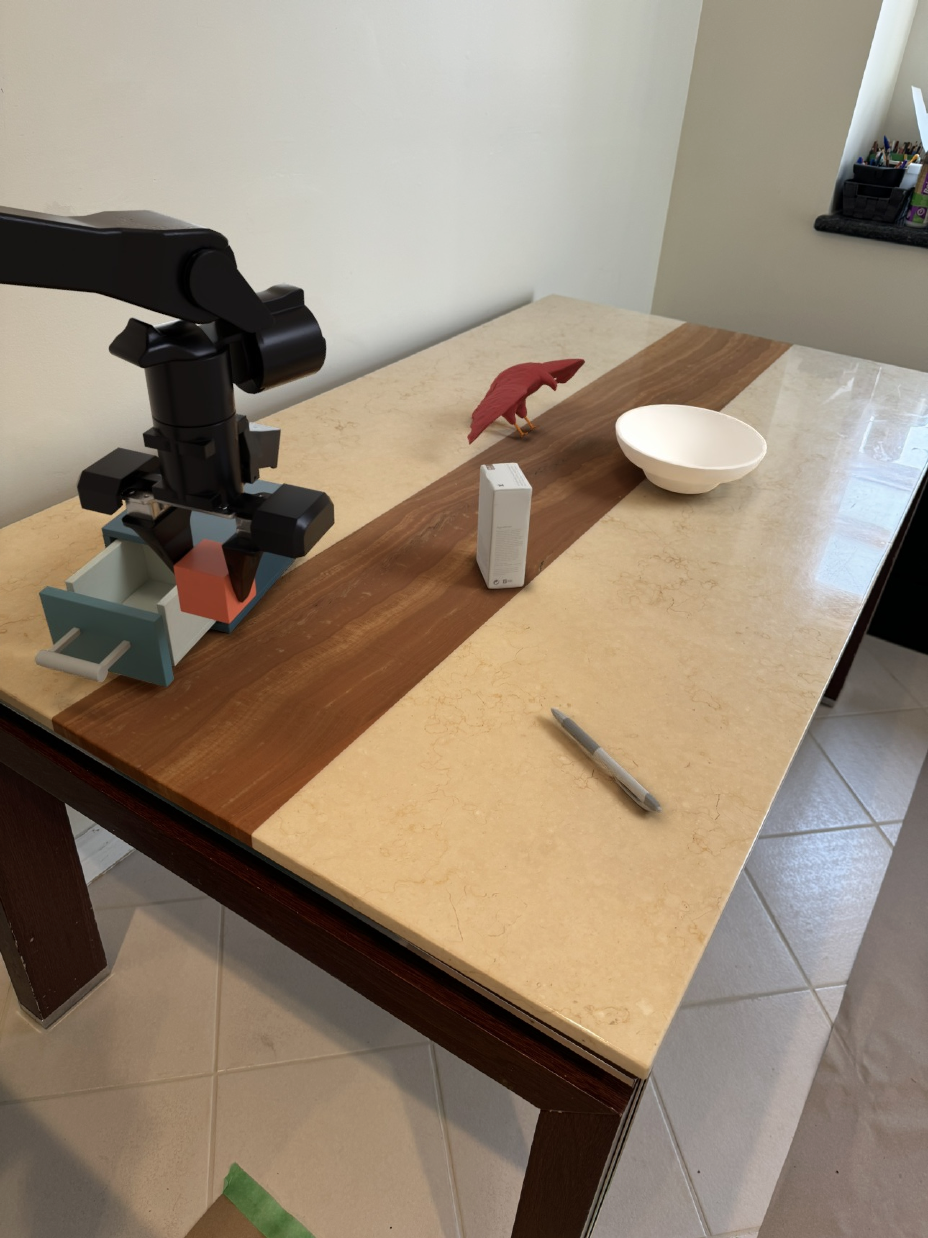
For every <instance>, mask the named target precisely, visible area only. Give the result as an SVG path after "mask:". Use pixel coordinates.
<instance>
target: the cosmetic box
mask: <svg viewBox="0 0 928 1238" xmlns="http://www.w3.org/2000/svg"><path fill="white" fill-rule="evenodd" d="M532 494H533V487H532V485H531V484H530V482H529V480H528V479H527V478H526V476H525V474H524V472H523V471H522V469H521V467H520V465H519V464H518V462H501V463H490V464H481V465H480V469H479V487H478V513H477V514H478V515H477V537H476V563H477V565H478V567H479V570H480V572H481V574H482V577H483V579H484V582H485V585H486V586H487V588H488V589H494V590H495V589H497V590H498V589H512V588H520V587H521V588H522V587H523V586H524V584H525V575H526V565H527V564H526V562H527V551H528V541H529V529H530V520H531V519H530V517H531V506H532Z"/></svg>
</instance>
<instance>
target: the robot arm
mask: <svg viewBox="0 0 928 1238" xmlns="http://www.w3.org/2000/svg"><path fill="white" fill-rule="evenodd" d="M0 285H6V286H7V285H8V286H15V287H16V286H19V287H27V288H29V287H30V288H37V289H47V290H60V291H67V292H68V291H69V292H77V293H78V292H79V293H91V294H97V295H101V296H104V297H107V298H110V299H114V300H117V301H120V302H123V303H127V304H129V305H131V306H132V305H133V306H136V307H139V308H142V309H145V310H147V311H150V312H154V313H156V314H161V315H162V316H167V317H171V318H174V319H175V320H171V321H167V322H163V323H158V324H154V325H153V324H152V323H149V322H146V321H143V320H141V319H139V318H136V317H134V316H133V317H129V319H128V320H127V323H126V326H125V327H124V329H123V330H122V331H120V333H119V334H117V335H116V336H115V337H114V339H113V340H112V341H111V342H110V344H109V345H108V353H109V354H111V355H112V356H114V357H116V358H119V359H121V360H123V361H125V362H127V363H129V364H132V365H134V366H136V367H138V368H141V369H143V370H144V376H145V383H146V389H147V396H148V401H149V408H150V415H151V420H152V425H153V426H152V427H150V428H148V429H147V430H146V431H144V432H143V433H142V439H143V445H144V447H145V448H148V449H152V450H156V451H157V455H156V454H153V453H152V454H151V453H147V452H142V451H138V450H133V449H129V448H124V447H121V446H120V447H119V446H118V447H117V448H115V449H114V450H112V451H110V452H109V453H107V454H106V455H104V456H103V457H101V458H99V459H98V460H97V461H95V462H94V463H92V464H91V465H89V466H87V467H86V468H84V469H83V470H82V471H81V472H80V473H79V475H78V478H77V480H76V484H75V485H76V490H77V495H78V499H79V504H80V507H81V509H83V510H86V511H91V512H95V513H99V514H103V515H108V516H113V515H114V514H116V512H118V511H119V510H120V509H121V508H123V506H124V504H125V509H126V510H127V514H126V515H125V516H123V517H122V519H121V520H122V524H123V525H124V526H125V527H128V528H131V529H132V530H133V531H134V532H135V533H136V534H137V535H138V536H139V537H140V538H141V539H142V540H143V541H144V542H145V543H146V544H147V545H148V546H149V547H150V548H151V549H152V550H153V551H154V552H155V553H156V554H157V555H158V556H159V557H160V559H161V560H162V561H163V562H164V563H165V564H166V566H167V567H168V568H169V569H170V570H171V571H172V573H173V574H174V575H175V573H174V565H175V564H176V563H177V562H178V561H179V560H181V559H182V558H183V557H184V556H185V555H186V554H187V553H188V552H189V551H191V550H192V549H193V548H194V545H193V538H192V532H191V525H190V517H191V513H192V511H196V512H200V513H205V514H209V515H213V516H218V517H222V518H226V519H234V518H235V520H236V526H237V527H236V532H235V533H234V534H233V535H232V536H231V537H230V538H229V539H228V540H226V541H225V542H224V543H223V544H222V550H223V554H224V558H225V562H226V565H227V569H228V573H229V576H230V580H231V584H232V588H233V591H234V593H235V595H236V597H237V600H238V602H242V603H243V602H244V601H245V600H246V599H247V598H248V596H249V594H250V591H251V588H252V585H253V581H254V578H255V575H256V572H257V569H258V566H259V563H260V560H261V557H262V554H263V553H264V552H268V553H272V554H276V555H280V556H285V557H289V558H293V559H295V558H296V559H301V558H304V557H306V556H307V554H309V552H311V550H312V549H313V548H314V547H315V546H316V545H317V543H319V541H320V540H321V539H322V538H323V537H324V536H325V535H326V534H327V533H328V532H329V531H330V529H331V528H332V527H333V526H334V525H335V505H334V504H335V503H334V502H333V500H332V498H331V497H330V496H329V494H328V493H327V492H326V491H323V490H317V489H312V488H308V487H304V486H300V485H294V484H290V483H286V482H284V483H281V484H282V485H281V486H280V487H279V488H278V489H277V490H276V491H275V492H274V493H273V494H271V493H267V492H260V493H256V494H249V493H245V492H244V485H245V484H246V483H249V484H253V483H254V482H255V481H256V480H258V479H259V480H260V478H261V476H260V470H261V469H266V468H270V469H272V470H274V469H277V468H278V463H279V453H280V443H281V435H282V429H281V428H279V427H276V426H271V425H266V424H261V423H256V422H251V421H249V419H248V417H247V414H241V413H237V406H236V398H235V386H236V387H237V388H238V389H239V390H240V391H242V392H243V393H245V394H250V395H256V394H261V393H263V392H266V391H269V390H272V389H276V388H278V387H280V386H284V385H286V384H289V383H293V382H296V381H298V380H301V379H304V378H308V377H310V376H313V375H315V374H317V373H318V372H320V371H321V370H322V368H323V366H324V365H325V361H326V358H327V341H326V338H325V337H324V336H323V332H322V329H321V326H320V324H319V322H318V320H317V318H316V316H315V315H314V313H313V311H311V309H310V308H309V307H308V306H307V305H306V304H305V290H304V289H303V288H302V287H299V286H296V285H293V284H289V283H286V282H282V283H278V284H274V285H271V286H270V287H268V288H266V289H264V290H261V291H255V290H254V289H253V287H252V286H251V285H250V283H249V282H248V281H247V279H246V278H245V277H244V276H243V274H242V273H241V272H240V270H239V269H238V263H237V260H236V256H235V252H234V250H233V249H232V246H231V245H230V241H229V239H228V237H226V236H225V235H224V234H223V233H222V232H219V231H216V230H214V229H213V228H209V227H206V226H203V225H200V224H197V223H193V222H190V221H187V220H185V219H181V218H178V217H175V216H171V215H168V214H165V213H162V212H158V211H155V210H149V209H134V210H133V209H130V210H103V211H100V212H99V211H98V212H94V213H90V214H87V215H68V216H67V215H60V214H53V213H46V212H41V211H35V210H29V209H25V208H24V209H22V208H16V207H11V206H6V205H5V206H4V205H0ZM234 385H235V386H234ZM123 501H124V502H123ZM296 559H295V560H296Z"/></svg>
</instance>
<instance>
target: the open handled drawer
mask: <svg viewBox="0 0 928 1238" xmlns="http://www.w3.org/2000/svg"><path fill="white" fill-rule="evenodd" d="M64 583H65V589H62V588H58V587H54V586H49V585H47V586H45V587H44V588H43V589H41V590H40V591H39V592H38V595H39V599H40V602H41V607H42V609H43V613H44V617H45V620H46V623H47V628H48V630H49V636H50V638H51V642H52V646H51V647H49V649H48V650H47V649H39V650H38V651H37V653H36V654H35V657H34V661H35V662H34V663H35V664H36V665H37V666H39V667H43V668H47V669H50V670H54V671H57V672H62V673H64V674H67V675H68V674H69V675H73V676H76V677H79V678H83V679H87V680H90V681H95V682H97V683H103V682H104V681H105V680H106V679H107V676H108V673H112V674H116V675H120V676H124V677H128V678H131V679H134V680H139V681H142V682H146V683H150V684H153V685H157V686H161V687H164V688H167V687H169V686H170V685H171V684H172V682H173V681H174V680H175V678H174V672H173V667H176V666H177V664H179V663H180V661H182V659H183V658H184V657H185V656H186V655H187V654H188V653H189V651H190V650H191V649H192V648H193V647H194V646H195V645H196V644H197V643H198V642H199V641H200V640H201V638H202V637H204V635H205V634H206V633H207V632H208V631H209V630H211V629H210V628H211V626H212V625H213V624H214V623H215V622H216V620H212V619H209V618H205V617H201V616H197V615H193V614H189V613H185V612H181V609H180V603H179V597H178V591H177V585H176V579H175V575H174V574H173V573H172V571H171V570H170V569H169V568H168V567H167V566H166V564H165V563H164V562H163V561H162V560H161V559H160V557H159V556H158V555H157V554H156V553H155V552H154V551H153V550H152V549H151V548H150V547H149V546H148V545H144V544H140V543H136V542H131V541H127V540H123V539H117V540H115V541H114V542H113V543H112V544H110V545H109V546H108V547H107V548H106V549H105V548H104V549H103V550H102V551H101V552H99V553H98V554H97V555H95V556H94V557H93V558H92V559H90V560H89V561H88V562H87V563H85V564H84V565H83V566H82V567H80V568H79V569H78V570H76V572H74V573H73V574H72V575H70V576H69V577H68V578H67V579H65V580H64Z"/></svg>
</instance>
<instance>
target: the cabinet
mask: <svg viewBox="0 0 928 1238" xmlns="http://www.w3.org/2000/svg"><path fill="white" fill-rule="evenodd" d="M282 484H283V483H278V482H273V481H269V480H263V479H260V478H259V479H258V480H256V481H255V482H254V483H253V484H249V483H246V484H245V485H244V492H245V493H249V494H256V493H260V492H267V493H271V494H273V493H274V492H275V491H276V490H277V489H278V488H279V487H280V486H281V485H282ZM126 514H127V510H126V508H125V509H124V510H123V511H121V512H120V513H119V514H118V515H116V516H115V517H114V518H112V519H110V521H108V522H107V523H106V524H104V525H103V526H102V527H101V534H102V539H103V544H104V549H106V548H107V547H108V546H109V545H110V544H112V543H113V542H114V541H115V540H117V539H123V540H127V541H131V542H136V543H140V544H144V545H147V544H146V543H145V542H144V541H143V540H142V539H141V538H140V537H139V536H138V535H137V534H136V533H135V532H134V531H133V530H132V529H131V528H128V527H125V526H124V525H123V524H122V520H121V519H122V517H123V516H125V515H126ZM190 525H191V532H192V538H193V545H194V547H195V546H196V545H197V544H198V543H200V542H201V541H202V540H203V539H207V540H211V541H215V542H219V543H224V542H225V541H226V540H228V539H229V538H230V537H231V536H232V535H233V534H234V533H235V532H236V527H237V526H236V520H235V518H234V519H226V518H222V517H218V516H213V515H209V514H205V513H200V512H196V511H192V513H191V517H190ZM296 559H297V558H295V559H293V558H289V557H285V556H280V555H276V554H272V553H268V552H264V553H263V554H262V557H261V560H260V563H259V566H258V569H257V572H256V575H255V587H256V596H255V597H254V598H253V599H252V600H251V601H250V602H249V603H248V604H247V605H246V606H245V607H244V609H243V610H242V611H241V612H240V613H239V614H238V615H237V616H236V617H235V618H234V619H233V620H232V622H231V623H230V624H228V623H224V622H220V621H216V622H215V623H214V624H213V625H212V626H211V628H210V629H209V630H214V631H218V632H221V633H225V634H231V633H232V632H233V631H234V629H235V628H236V627H237V626H238V625H239V624H240V623H241V622H242V621H243V619H244V618H245V617H247V615H248V614H249V613H250V611H251V610H252V609H254V607H255V606H256V605H257V604H258V603H259V602H260V600H261V599H262V598H263V597H264V596H265V594H266V593H267V592H268V591H269V590H270V589H271V588H272V586H273V585H274V584H275V583H276V582H277V581H278V580H279V579H280V578H281V576H282V575H284V574H285V572H286V571H287V569H289V567H290V566H291V565H292V564H293V563H294V562H295V561H296Z"/></svg>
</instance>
